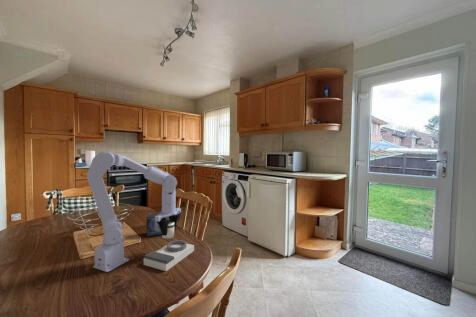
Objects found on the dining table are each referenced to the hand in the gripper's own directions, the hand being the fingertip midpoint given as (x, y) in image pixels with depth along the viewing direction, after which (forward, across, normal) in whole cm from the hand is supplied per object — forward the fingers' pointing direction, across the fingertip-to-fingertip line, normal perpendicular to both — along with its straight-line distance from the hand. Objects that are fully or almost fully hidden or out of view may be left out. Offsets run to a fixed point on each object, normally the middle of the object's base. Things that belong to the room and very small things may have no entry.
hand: (168, 232), depth 94 cm
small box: (+9, +14, +19) cm, 25 cm away
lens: (+2, 0, 0) cm, 2 cm away
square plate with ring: (+8, -4, -4) cm, 10 cm away
